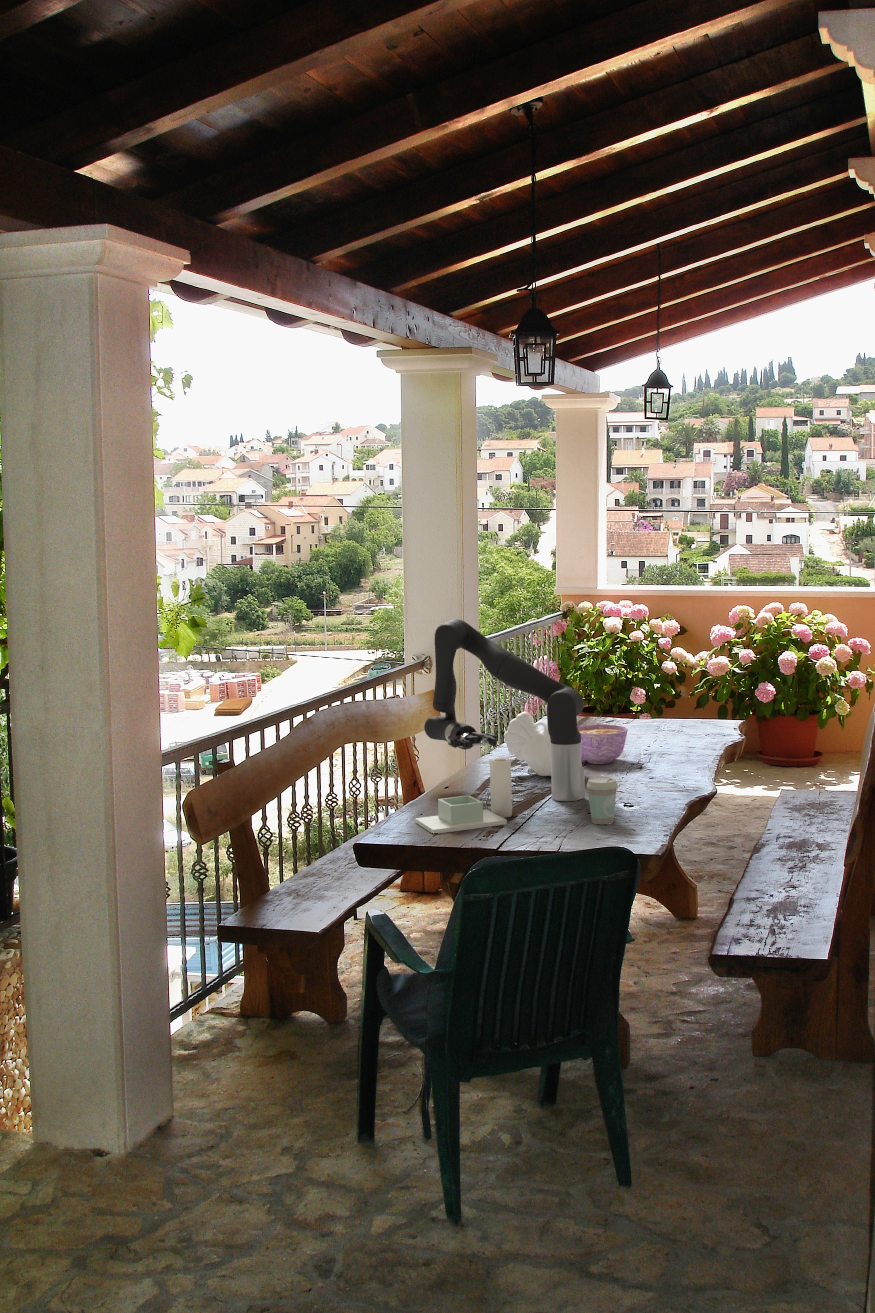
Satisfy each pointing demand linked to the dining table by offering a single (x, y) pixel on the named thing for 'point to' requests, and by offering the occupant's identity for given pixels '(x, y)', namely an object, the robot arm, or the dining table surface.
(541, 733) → the decorative rooster
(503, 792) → the paper roll
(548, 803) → the dining table surface
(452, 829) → the roll caddy
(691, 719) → the dining table surface
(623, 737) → the bowl of food
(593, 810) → the coffee cup
